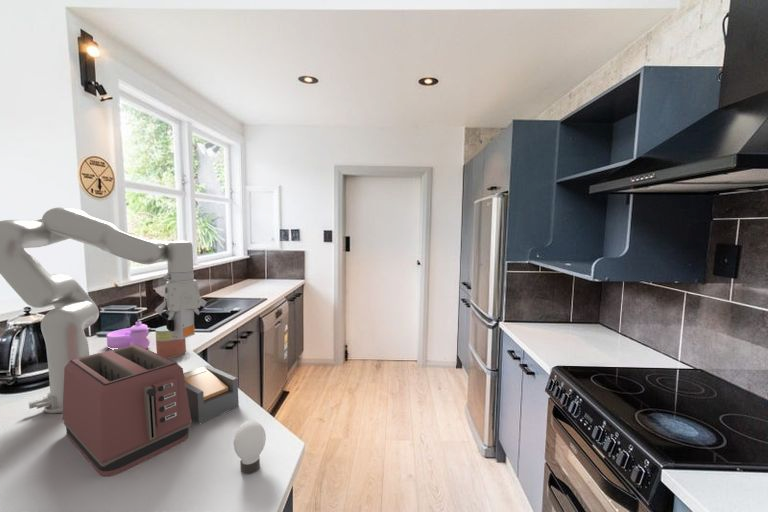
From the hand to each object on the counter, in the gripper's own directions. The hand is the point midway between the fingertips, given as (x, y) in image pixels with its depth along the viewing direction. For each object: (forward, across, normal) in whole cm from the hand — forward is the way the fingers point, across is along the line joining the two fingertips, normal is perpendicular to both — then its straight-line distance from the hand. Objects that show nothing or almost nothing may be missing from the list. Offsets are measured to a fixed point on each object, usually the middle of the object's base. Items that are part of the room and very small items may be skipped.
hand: (183, 327), depth 115 cm
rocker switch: (+16, -3, -18) cm, 24 cm away
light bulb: (+21, -11, -55) cm, 60 cm away
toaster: (+22, -22, -17) cm, 35 cm away
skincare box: (+3, 0, 0) cm, 3 cm away
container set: (+22, +6, +68) cm, 72 cm away
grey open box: (+21, -3, -18) cm, 28 cm away
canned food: (+22, +12, +41) cm, 48 cm away
